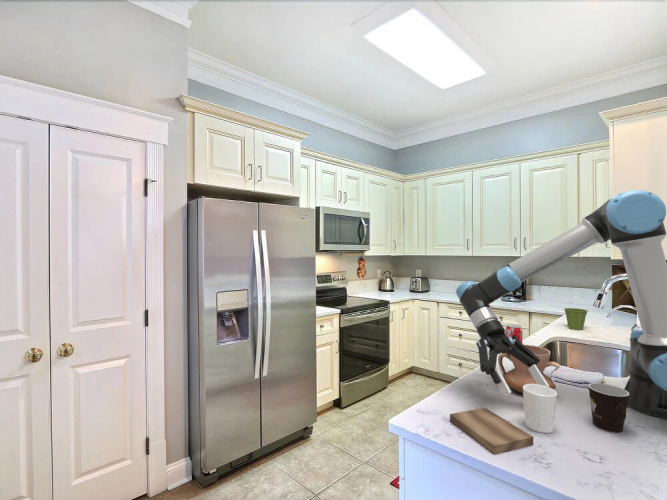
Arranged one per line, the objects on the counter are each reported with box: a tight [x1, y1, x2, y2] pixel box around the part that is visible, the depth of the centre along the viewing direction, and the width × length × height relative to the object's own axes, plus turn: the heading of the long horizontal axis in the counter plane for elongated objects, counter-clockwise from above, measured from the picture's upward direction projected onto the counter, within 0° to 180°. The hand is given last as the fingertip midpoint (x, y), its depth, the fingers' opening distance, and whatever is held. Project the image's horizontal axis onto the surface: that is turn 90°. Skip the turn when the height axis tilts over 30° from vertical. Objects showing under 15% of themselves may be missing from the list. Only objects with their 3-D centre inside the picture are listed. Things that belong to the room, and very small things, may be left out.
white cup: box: [522, 384, 558, 434], centre depth 93 cm, size 8×8×10 cm
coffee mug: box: [588, 382, 629, 434], centre depth 92 cm, size 12×9×10 cm
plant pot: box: [563, 307, 589, 331], centre depth 204 cm, size 12×12×11 cm
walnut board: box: [449, 407, 534, 455], centre depth 90 cm, size 12×16×2 cm
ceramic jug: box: [497, 344, 559, 394], centre depth 117 cm, size 18×14×14 cm
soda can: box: [504, 323, 523, 344], centre depth 159 cm, size 7×7×12 cm
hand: (526, 391), depth 96 cm, fingers open, 13 cm apart
